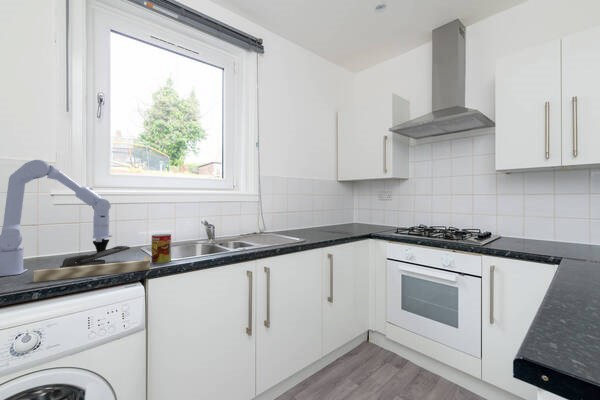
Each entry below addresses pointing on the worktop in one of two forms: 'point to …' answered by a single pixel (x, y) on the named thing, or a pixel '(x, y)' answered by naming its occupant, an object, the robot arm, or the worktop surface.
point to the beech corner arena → (91, 270)
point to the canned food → (161, 248)
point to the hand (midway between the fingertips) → (101, 256)
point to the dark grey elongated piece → (91, 257)
